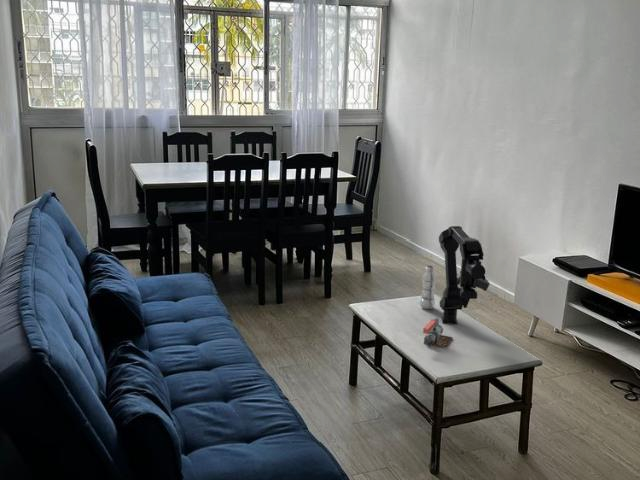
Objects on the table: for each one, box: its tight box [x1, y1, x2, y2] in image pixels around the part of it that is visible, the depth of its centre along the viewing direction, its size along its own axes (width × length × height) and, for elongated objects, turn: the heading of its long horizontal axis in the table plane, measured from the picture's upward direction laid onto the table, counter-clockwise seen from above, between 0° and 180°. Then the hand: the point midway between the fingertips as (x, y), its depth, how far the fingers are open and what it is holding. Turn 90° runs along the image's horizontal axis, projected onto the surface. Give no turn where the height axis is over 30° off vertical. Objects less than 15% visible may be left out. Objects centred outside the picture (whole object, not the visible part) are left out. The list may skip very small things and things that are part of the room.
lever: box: [422, 316, 440, 335], centre depth 245 cm, size 3×13×2 cm, turn 151°
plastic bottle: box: [419, 264, 437, 310], centre depth 283 cm, size 6×7×20 cm
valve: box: [423, 324, 453, 349], centre depth 250 cm, size 12×9×7 cm
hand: (465, 307), depth 252 cm, fingers closed
